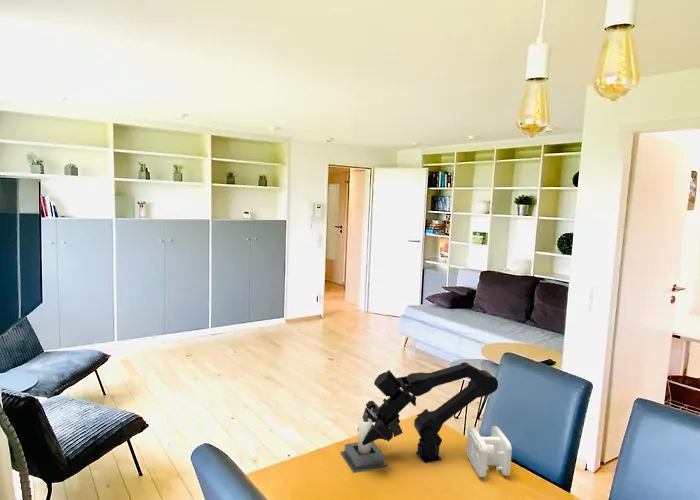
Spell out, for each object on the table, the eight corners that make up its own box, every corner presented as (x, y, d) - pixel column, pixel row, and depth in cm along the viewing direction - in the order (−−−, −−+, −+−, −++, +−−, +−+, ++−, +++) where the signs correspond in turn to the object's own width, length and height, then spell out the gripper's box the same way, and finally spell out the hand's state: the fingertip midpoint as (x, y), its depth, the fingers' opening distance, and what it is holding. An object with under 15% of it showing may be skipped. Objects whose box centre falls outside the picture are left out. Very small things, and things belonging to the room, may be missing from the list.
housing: (372, 447, 162) (373, 438, 162) (387, 466, 151) (388, 455, 151) (340, 453, 158) (341, 443, 158) (353, 472, 147) (354, 461, 147)
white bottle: (370, 454, 157) (372, 411, 156) (371, 461, 152) (373, 417, 151) (356, 453, 157) (358, 410, 155) (357, 461, 152) (359, 416, 151)
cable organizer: (511, 481, 146) (514, 446, 145) (478, 481, 145) (481, 446, 144) (494, 455, 161) (496, 423, 159) (464, 455, 160) (466, 423, 159)
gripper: (418, 434, 147) (382, 468, 146) (402, 408, 165) (371, 438, 164) (395, 411, 145) (359, 446, 144) (382, 387, 163) (350, 418, 162)
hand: (360, 437), depth 154 cm, fingers open, 8 cm apart
